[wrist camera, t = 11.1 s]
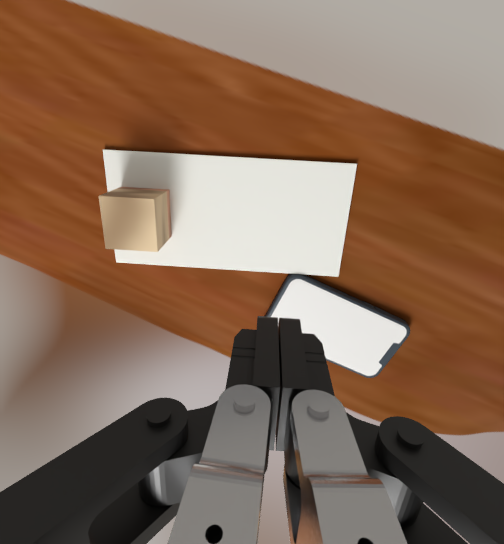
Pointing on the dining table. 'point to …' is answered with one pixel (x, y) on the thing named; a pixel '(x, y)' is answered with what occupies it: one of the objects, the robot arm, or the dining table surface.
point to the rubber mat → (242, 210)
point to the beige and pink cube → (136, 218)
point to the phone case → (341, 324)
